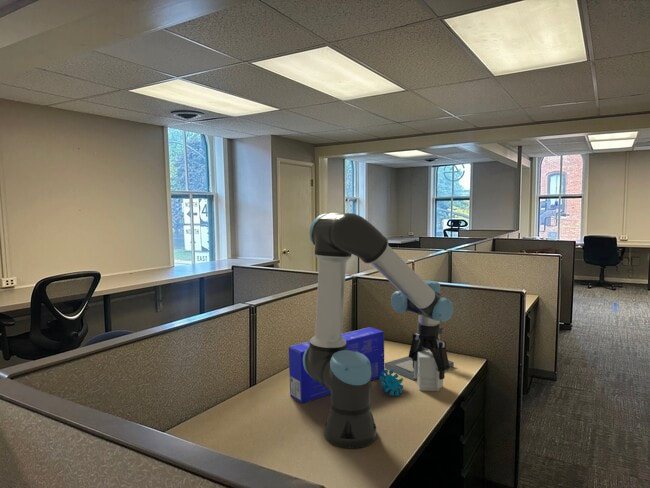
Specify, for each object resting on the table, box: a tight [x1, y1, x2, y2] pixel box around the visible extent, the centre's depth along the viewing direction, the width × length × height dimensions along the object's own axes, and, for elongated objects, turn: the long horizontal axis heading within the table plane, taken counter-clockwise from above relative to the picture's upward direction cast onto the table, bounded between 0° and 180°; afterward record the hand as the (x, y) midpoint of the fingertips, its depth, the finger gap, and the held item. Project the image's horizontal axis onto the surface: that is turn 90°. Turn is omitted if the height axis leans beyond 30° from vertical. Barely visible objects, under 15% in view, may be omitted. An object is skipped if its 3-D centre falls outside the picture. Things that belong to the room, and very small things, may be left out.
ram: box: [437, 326, 444, 345], centre depth 179 cm, size 5×5×8 cm
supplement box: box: [416, 350, 440, 392], centre depth 157 cm, size 7×7×13 cm
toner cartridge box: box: [288, 326, 385, 404], centre depth 158 cm, size 39×8×18 cm, turn 126°
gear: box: [378, 368, 404, 397], centre depth 154 cm, size 11×6×10 cm
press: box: [384, 318, 455, 381], centre depth 176 cm, size 24×16×18 cm, turn 126°
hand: (427, 382), depth 158 cm, fingers closed on supplement box, 10 cm apart
